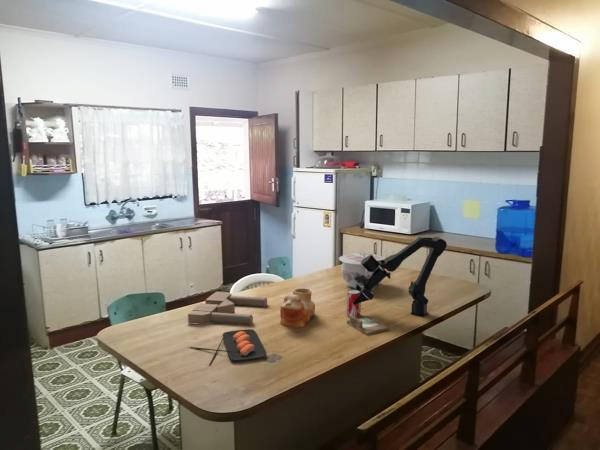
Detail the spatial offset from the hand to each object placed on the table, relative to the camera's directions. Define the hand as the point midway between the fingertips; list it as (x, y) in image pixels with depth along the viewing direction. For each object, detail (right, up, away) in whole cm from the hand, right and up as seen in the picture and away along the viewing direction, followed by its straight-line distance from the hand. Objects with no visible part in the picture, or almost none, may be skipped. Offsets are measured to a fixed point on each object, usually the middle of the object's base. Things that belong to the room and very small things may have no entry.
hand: (352, 300), depth 225 cm
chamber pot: (+11, 0, +48) cm, 50 cm away
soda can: (+1, -7, +1) cm, 8 cm away
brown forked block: (-60, -8, +7) cm, 61 cm away
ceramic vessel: (-27, -9, -5) cm, 28 cm away
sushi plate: (-56, -15, -35) cm, 68 cm away
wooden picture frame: (+5, -10, -13) cm, 17 cm away
